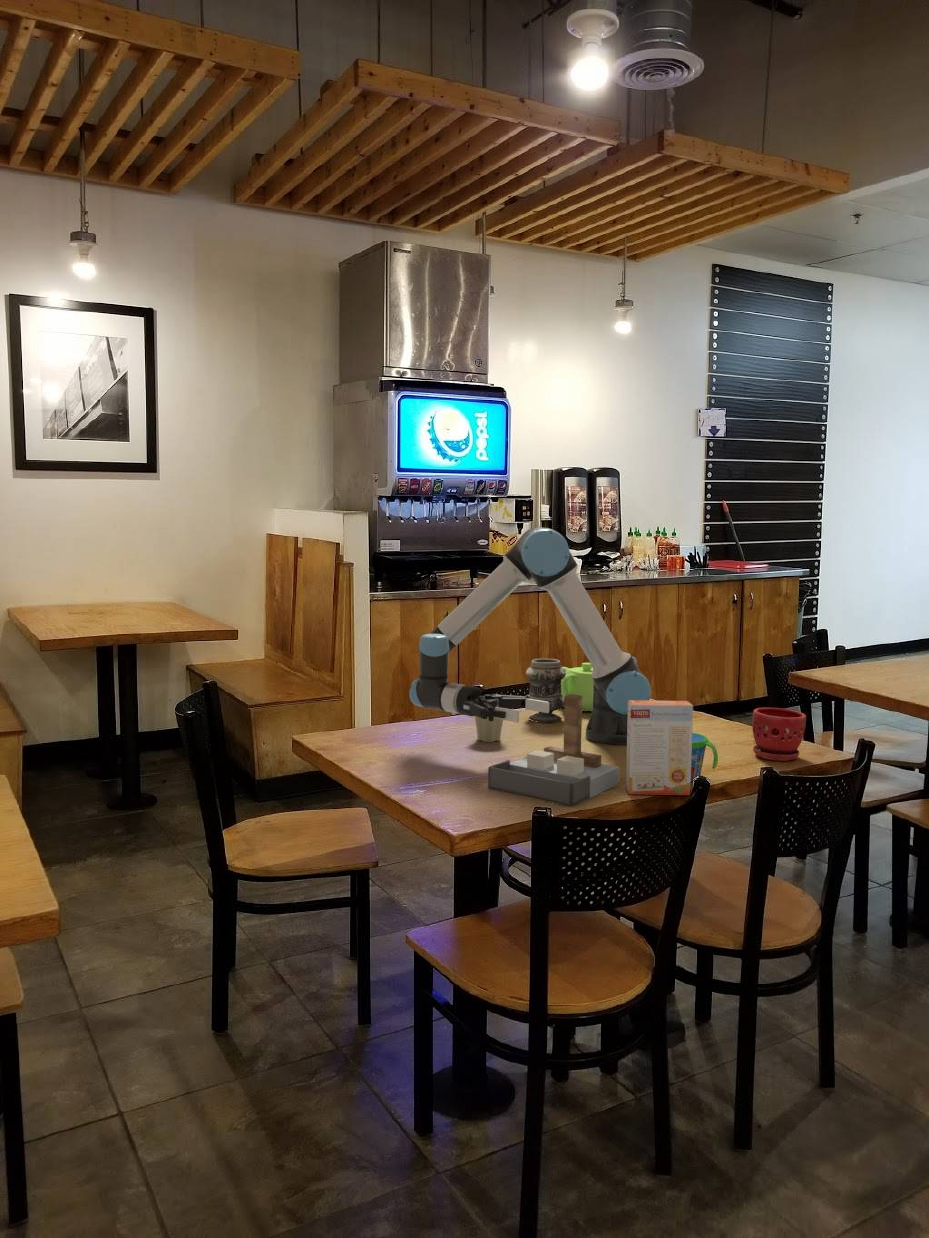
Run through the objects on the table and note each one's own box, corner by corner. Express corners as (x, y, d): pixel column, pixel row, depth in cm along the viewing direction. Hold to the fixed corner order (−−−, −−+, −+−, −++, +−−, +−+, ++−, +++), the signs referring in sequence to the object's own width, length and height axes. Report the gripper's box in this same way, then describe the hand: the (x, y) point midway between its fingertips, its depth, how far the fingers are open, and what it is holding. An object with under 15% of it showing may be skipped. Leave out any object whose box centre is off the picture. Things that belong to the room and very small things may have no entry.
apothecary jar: (547, 713, 309) (549, 655, 307) (573, 720, 299) (575, 661, 297) (516, 717, 303) (517, 659, 300) (541, 725, 293) (543, 664, 290)
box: (507, 780, 236) (507, 759, 236) (589, 797, 223) (590, 776, 223) (488, 788, 230) (488, 767, 229) (571, 806, 217) (572, 784, 216)
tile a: (537, 762, 237) (537, 750, 237) (553, 765, 235) (553, 753, 234) (527, 766, 234) (527, 753, 233) (543, 769, 231) (543, 757, 231)
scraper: (549, 755, 243) (551, 691, 241) (601, 765, 235) (603, 698, 233) (543, 758, 241) (544, 693, 239) (594, 768, 233) (596, 700, 231)
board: (538, 767, 248) (539, 752, 247) (618, 783, 235) (619, 767, 234) (507, 780, 236) (507, 763, 236) (589, 797, 223) (590, 780, 223)
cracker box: (685, 788, 231) (689, 699, 229) (690, 796, 225) (694, 705, 223) (624, 787, 232) (627, 698, 229) (628, 795, 226) (631, 704, 223)
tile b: (566, 768, 233) (566, 755, 232) (583, 771, 230) (584, 758, 230) (556, 772, 229) (556, 759, 229) (573, 775, 227) (574, 762, 226)
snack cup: (643, 777, 240) (645, 735, 239) (662, 768, 249) (664, 727, 248) (705, 789, 231) (707, 746, 230) (723, 779, 240) (725, 737, 239)
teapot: (556, 713, 310) (557, 667, 308) (558, 700, 330) (559, 656, 328) (617, 715, 308) (619, 669, 306) (615, 702, 328) (617, 658, 326)
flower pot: (511, 742, 273) (512, 711, 272) (479, 745, 269) (480, 713, 268) (497, 734, 282) (498, 704, 281) (466, 737, 278) (467, 706, 277)
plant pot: (789, 766, 252) (791, 719, 250) (741, 756, 261) (743, 711, 259) (812, 757, 261) (815, 711, 260) (765, 747, 270) (767, 704, 269)
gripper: (490, 706, 266) (559, 718, 254) (432, 722, 246) (504, 736, 234) (491, 678, 265) (560, 689, 253) (433, 692, 245) (505, 704, 233)
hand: (533, 712), depth 243 cm, fingers open, 13 cm apart
